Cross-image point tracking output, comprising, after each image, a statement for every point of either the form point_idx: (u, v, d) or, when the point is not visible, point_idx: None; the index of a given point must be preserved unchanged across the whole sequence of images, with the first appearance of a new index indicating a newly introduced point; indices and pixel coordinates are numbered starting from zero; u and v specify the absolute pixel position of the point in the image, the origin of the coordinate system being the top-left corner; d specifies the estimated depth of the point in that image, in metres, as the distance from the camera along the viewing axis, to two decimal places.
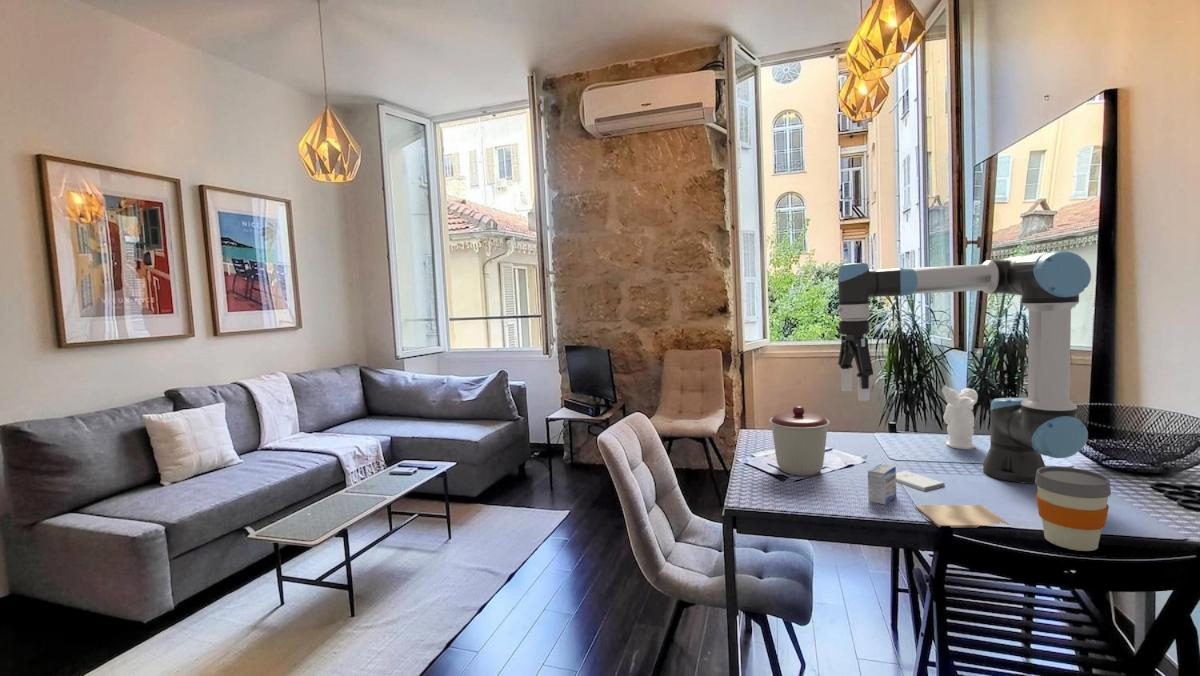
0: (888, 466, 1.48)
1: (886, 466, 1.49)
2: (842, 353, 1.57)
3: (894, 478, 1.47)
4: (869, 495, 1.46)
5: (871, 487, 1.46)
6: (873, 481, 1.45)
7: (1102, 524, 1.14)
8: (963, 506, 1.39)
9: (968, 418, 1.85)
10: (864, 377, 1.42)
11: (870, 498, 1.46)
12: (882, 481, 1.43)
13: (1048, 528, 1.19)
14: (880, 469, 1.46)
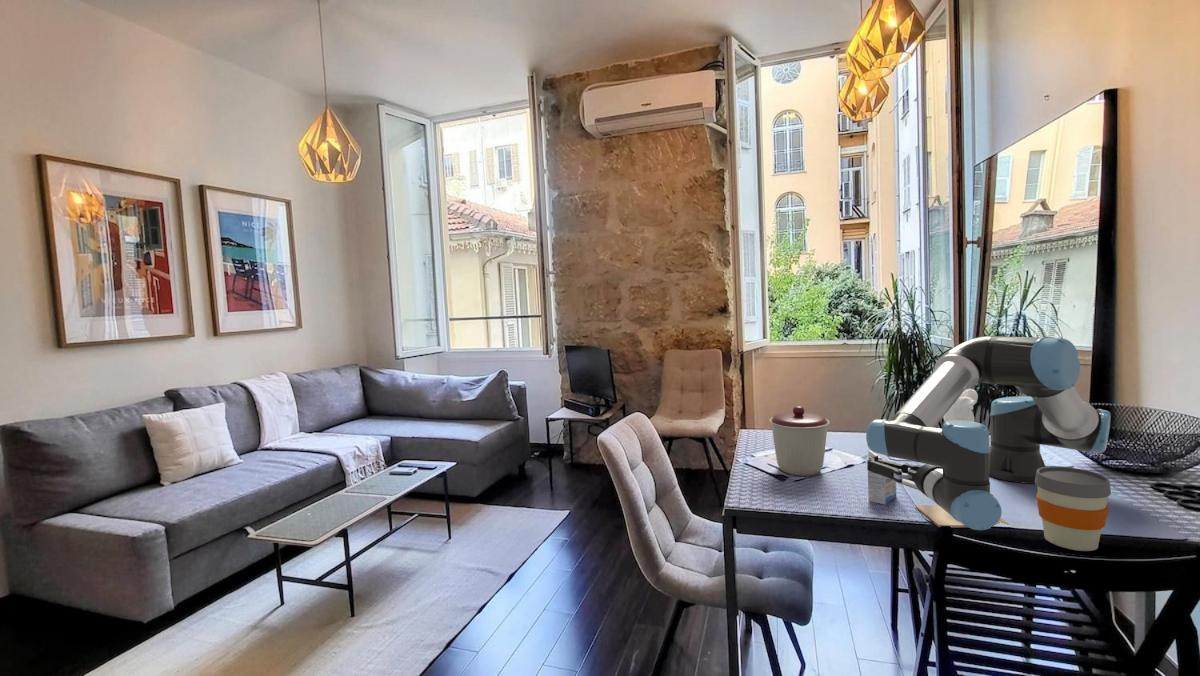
0: None
1: None
2: None
3: None
4: (869, 495, 1.46)
5: (871, 487, 1.46)
6: (873, 481, 1.45)
7: (1102, 524, 1.14)
8: None
9: (968, 418, 1.85)
10: None
11: (870, 498, 1.46)
12: (882, 481, 1.44)
13: (1048, 528, 1.19)
14: None
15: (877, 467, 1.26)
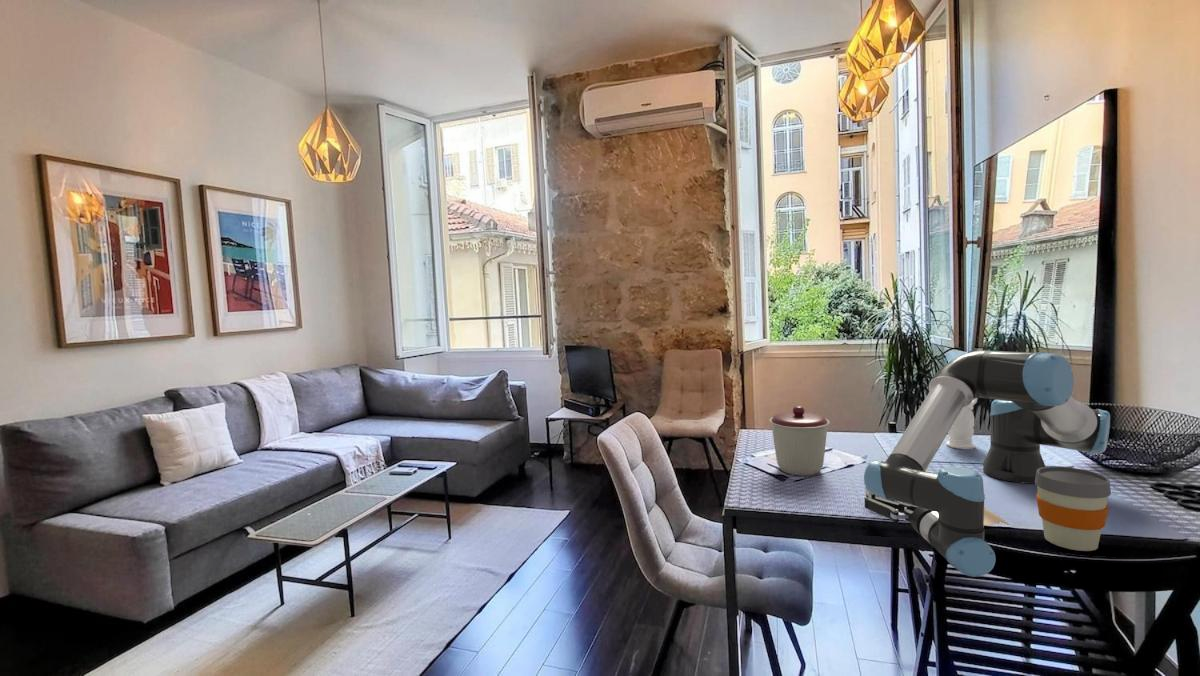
0: None
1: None
2: None
3: None
4: None
5: None
6: None
7: (1102, 524, 1.14)
8: None
9: (968, 418, 1.85)
10: None
11: None
12: None
13: (1048, 528, 1.19)
14: None
15: (874, 505, 1.29)
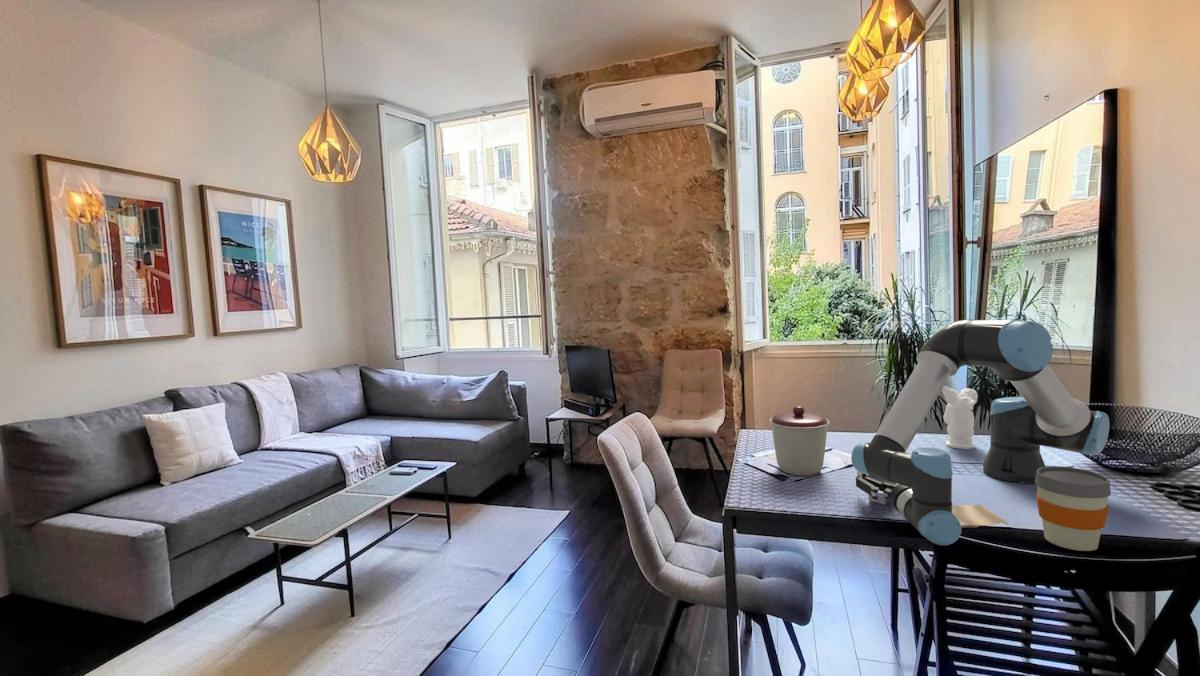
0: None
1: None
2: None
3: None
4: None
5: None
6: None
7: (1102, 524, 1.14)
8: (963, 506, 1.39)
9: (968, 418, 1.85)
10: None
11: (870, 498, 1.46)
12: (882, 480, 1.43)
13: (1048, 528, 1.19)
14: None
15: (861, 484, 1.42)
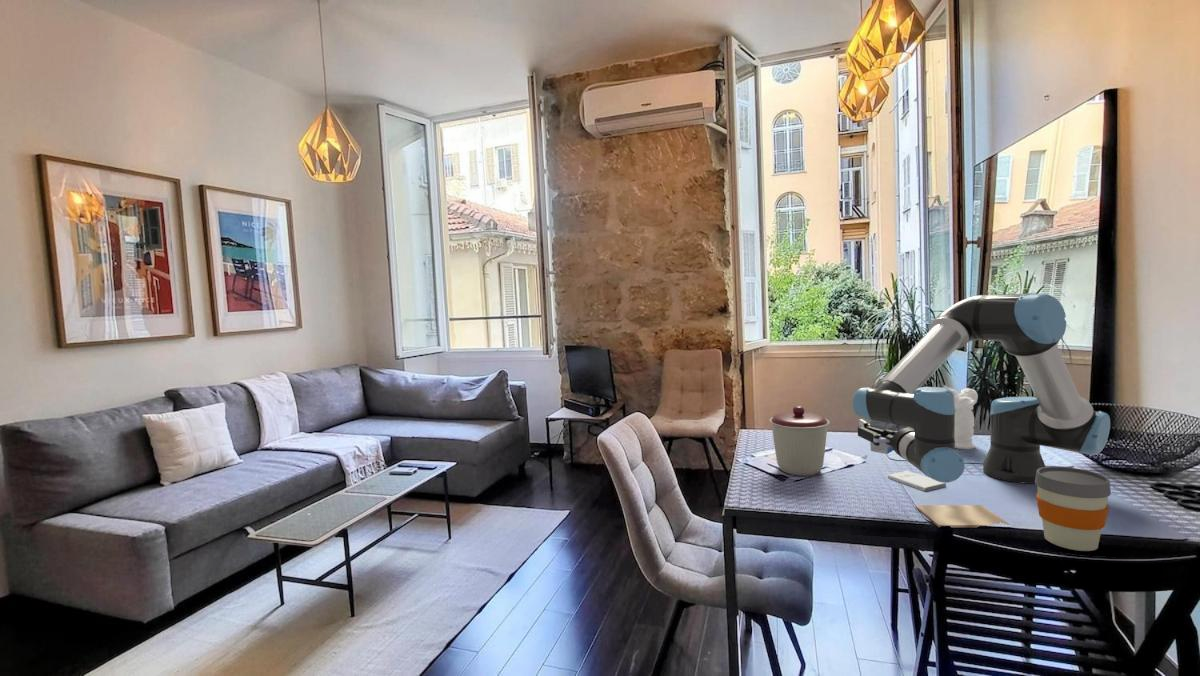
0: None
1: None
2: None
3: (896, 428, 1.46)
4: (872, 445, 1.45)
5: None
6: None
7: (1102, 524, 1.14)
8: (963, 506, 1.39)
9: (968, 418, 1.85)
10: None
11: (872, 448, 1.45)
12: (884, 429, 1.42)
13: (1048, 528, 1.19)
14: None
15: (863, 432, 1.41)
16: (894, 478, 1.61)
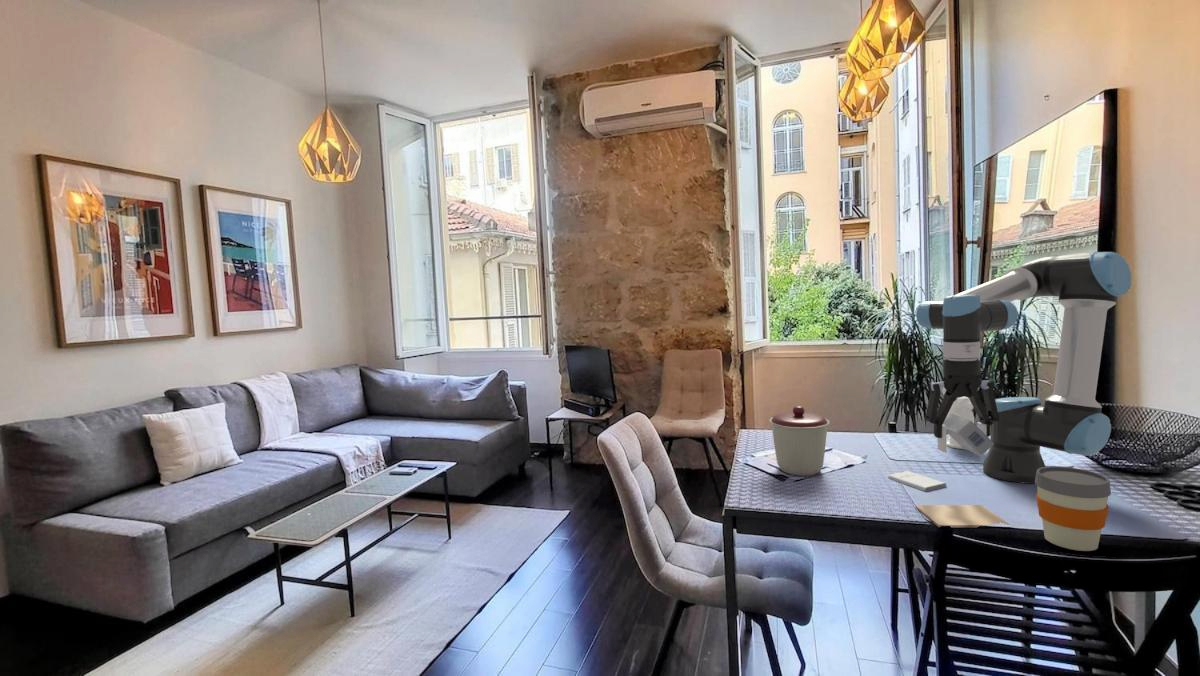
0: None
1: None
2: None
3: None
4: (954, 429, 1.28)
5: (950, 426, 1.31)
6: (947, 423, 1.32)
7: (1102, 524, 1.14)
8: (963, 506, 1.39)
9: (968, 418, 1.85)
10: None
11: (956, 430, 1.27)
12: (954, 416, 1.33)
13: (1048, 528, 1.19)
14: None
15: (929, 408, 1.33)
16: (894, 478, 1.61)
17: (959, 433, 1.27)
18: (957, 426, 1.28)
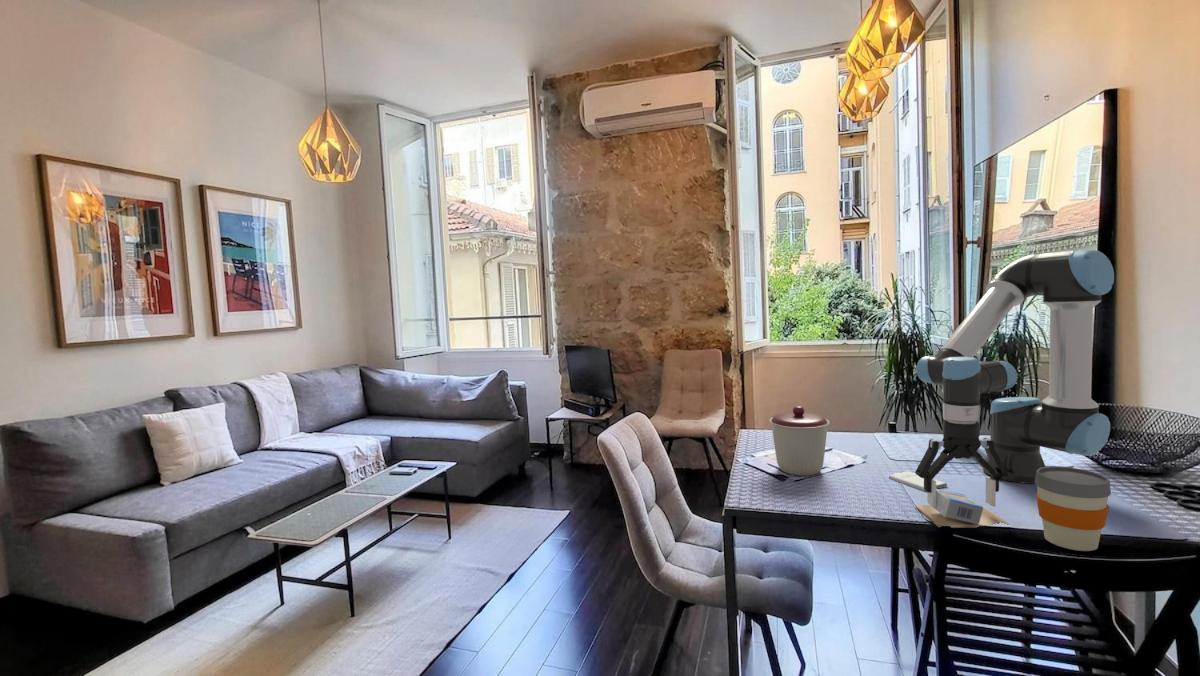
0: None
1: None
2: None
3: (965, 497, 1.33)
4: (941, 512, 1.30)
5: (937, 506, 1.33)
6: None
7: (1103, 524, 1.14)
8: None
9: None
10: None
11: (943, 513, 1.30)
12: None
13: (1048, 528, 1.19)
14: None
15: (922, 463, 1.34)
16: (895, 478, 1.61)
17: (947, 516, 1.29)
18: (942, 507, 1.30)
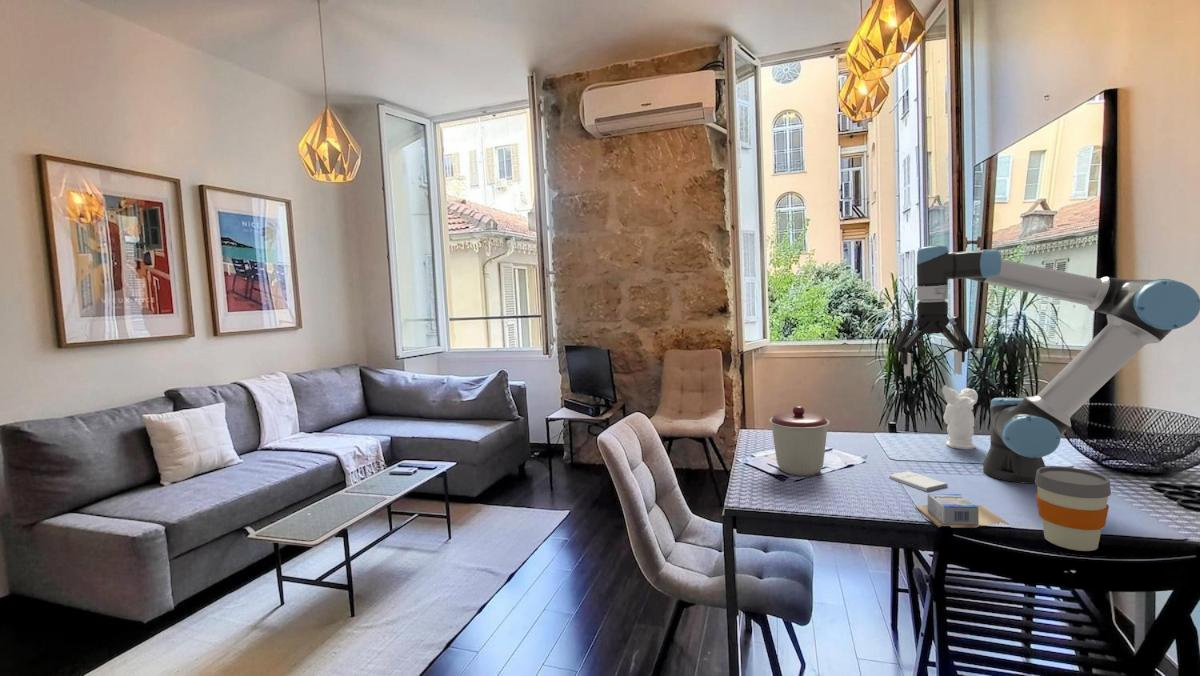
0: None
1: None
2: None
3: (961, 498, 1.33)
4: (940, 519, 1.31)
5: (935, 514, 1.33)
6: (931, 509, 1.35)
7: (1102, 524, 1.14)
8: None
9: (968, 418, 1.85)
10: None
11: (941, 520, 1.30)
12: (931, 499, 1.35)
13: (1048, 528, 1.19)
14: None
15: (899, 339, 1.56)
16: (895, 478, 1.61)
17: (945, 522, 1.29)
18: (939, 515, 1.31)
